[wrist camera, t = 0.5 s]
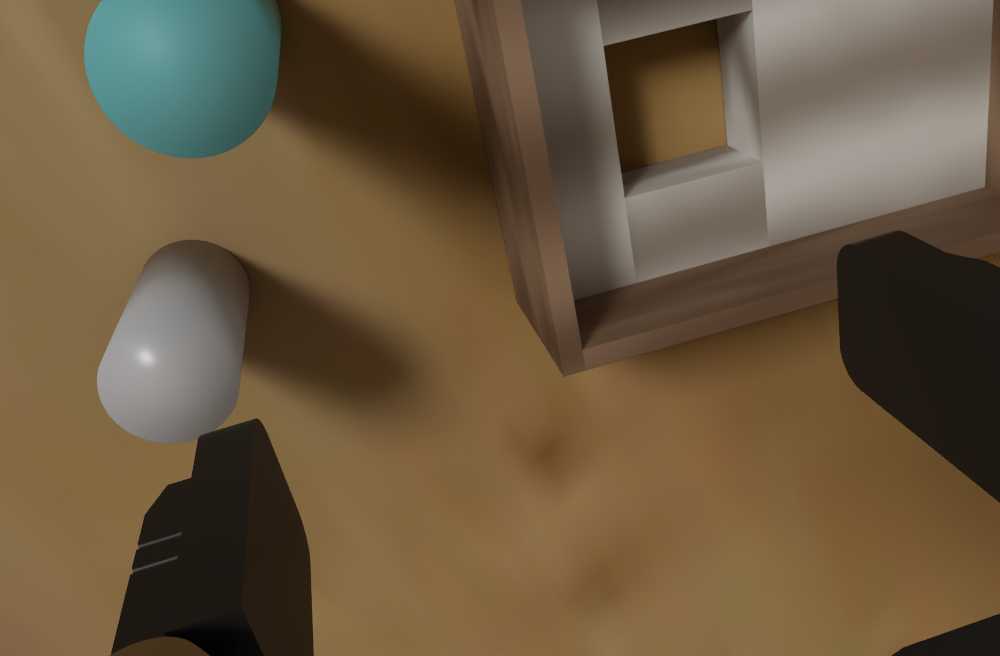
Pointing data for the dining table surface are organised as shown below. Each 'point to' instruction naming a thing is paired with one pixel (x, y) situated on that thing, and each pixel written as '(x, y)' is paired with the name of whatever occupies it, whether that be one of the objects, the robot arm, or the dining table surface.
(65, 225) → the dining table surface
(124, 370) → the grey peg
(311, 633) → the robot arm
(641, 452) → the dining table surface
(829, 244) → the peg box
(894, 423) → the dining table surface
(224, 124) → the teal peg
